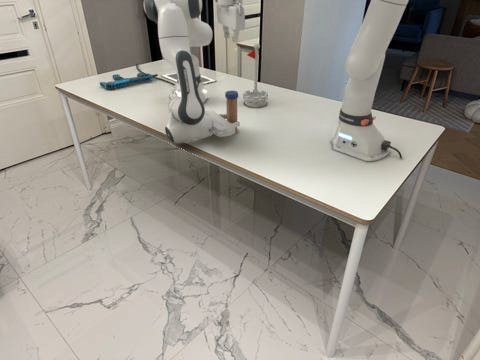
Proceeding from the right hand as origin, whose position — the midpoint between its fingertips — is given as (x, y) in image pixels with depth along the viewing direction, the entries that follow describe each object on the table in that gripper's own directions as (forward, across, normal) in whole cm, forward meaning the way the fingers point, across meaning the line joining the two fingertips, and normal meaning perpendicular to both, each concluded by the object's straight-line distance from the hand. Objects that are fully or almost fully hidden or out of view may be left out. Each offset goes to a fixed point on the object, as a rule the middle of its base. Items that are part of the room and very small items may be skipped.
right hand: (230, 40), depth 128 cm
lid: (+21, 0, 0) cm, 21 cm away
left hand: (+32, 0, -1) cm, 32 cm away
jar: (+38, 0, 0) cm, 38 cm away
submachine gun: (+38, +93, +34) cm, 106 cm away
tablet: (+38, +84, -2) cm, 93 cm away
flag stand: (+38, +28, -23) cm, 53 cm away
